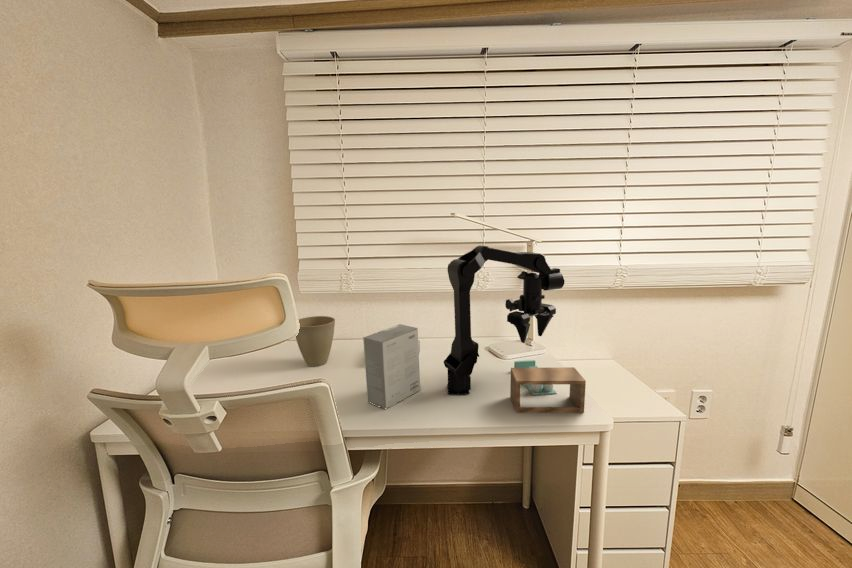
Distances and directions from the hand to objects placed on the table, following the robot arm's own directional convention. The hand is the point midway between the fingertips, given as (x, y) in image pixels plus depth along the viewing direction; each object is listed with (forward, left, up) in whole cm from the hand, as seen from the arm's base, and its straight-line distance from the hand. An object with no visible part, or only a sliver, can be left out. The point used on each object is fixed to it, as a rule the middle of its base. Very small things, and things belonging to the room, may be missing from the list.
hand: (531, 339), depth 126 cm
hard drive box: (-43, -15, -13) cm, 48 cm away
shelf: (0, -20, -12) cm, 24 cm away
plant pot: (-75, +12, -13) cm, 77 cm away
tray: (0, -5, -13) cm, 14 cm away
